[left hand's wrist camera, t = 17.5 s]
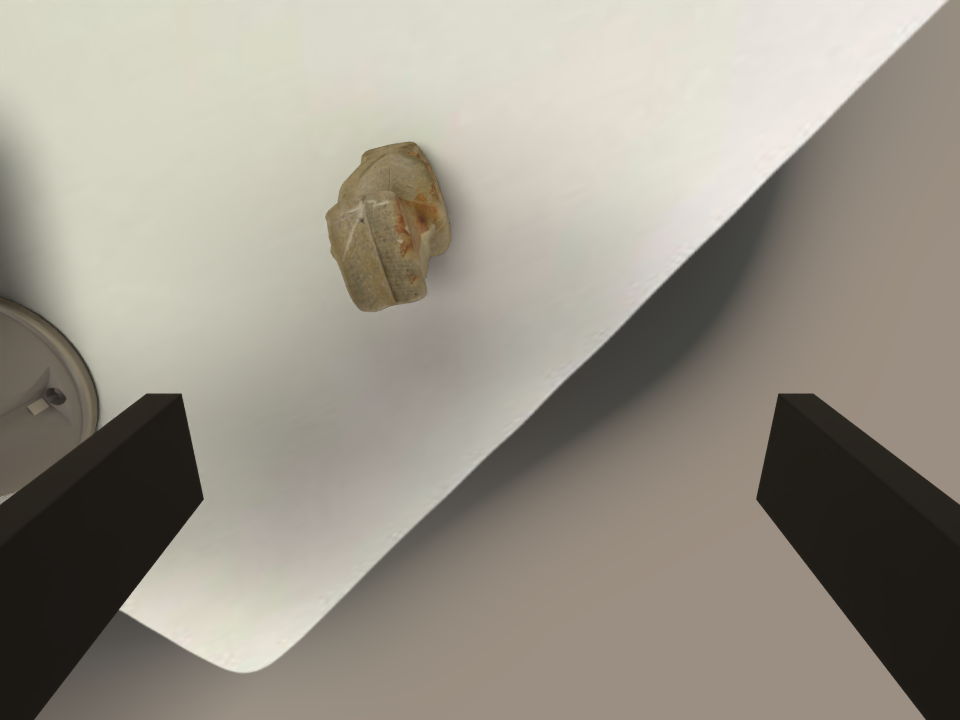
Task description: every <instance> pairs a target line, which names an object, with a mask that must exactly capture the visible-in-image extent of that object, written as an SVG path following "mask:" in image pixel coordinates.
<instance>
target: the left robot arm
mask: <svg viewBox="0 0 960 720" xmlns="http://www.w3.org/2000/svg"><path fill="white" fill-rule="evenodd" d="M97 412H98V408H97V398H96V393H95V389H94V386H93V383H92V380H91V378H90V375H89V373H88V371H87V369H86V367H85V365H84V363H83V362H82V360H81V359H80V357H79V356H78V354H77V353H76V351H75V350H74V349H73V347H72V346H71V345H70V344H69V343H68V342H67V340H66V339H65V338H64V337H63V336H62V335H61V334H60V333H59V332H58V331H57V330H56V329H54V328H53V327H52V326H51V325H50V324H48V323H47V322H46V321H45V320H43V319H42V318H40V317H39V316H37V315H36V314H34V313H33V312H31V311H29V310H28V309H26V308H24V307H22V306H20V305H18V304H16V303H14V302H12V301H9V300H7V299H4V298H1V297H0V497H1V496H4V495H7V494H10V493H13V492H16V491H18V492H17V493H15V494H14V495H13V496H11V497H10V498H9V499H7V500H6V501H5V502H3V503H2V504H1V505H0V720H34V719H35V718H36V717H37V715H38V714H39V713H40V711H41V710H42V709H43V707H44V706H45V705H46V704H47V702H48V701H49V700H50V698H51V697H52V696H53V694H54V693H55V692H56V691H57V689H58V688H59V687H60V685H61V684H62V683H63V681H64V680H65V679H66V678H67V676H68V675H69V674H70V672H71V671H72V670H73V668H74V667H75V666H76V665H77V663H78V662H79V661H80V659H81V658H82V657H83V655H84V654H85V653H86V652H87V650H88V649H89V648H90V646H91V645H92V644H93V643H94V641H95V640H96V639H97V637H98V636H99V635H100V633H101V632H102V631H103V629H104V628H105V627H106V626H107V624H108V623H109V622H110V620H111V619H112V618H113V617H114V615H115V614H116V613H117V611H118V610H119V609H120V607H121V606H122V605H123V604H124V602H125V601H126V600H127V598H128V597H129V596H130V594H131V593H132V592H133V591H134V589H135V588H136V587H137V585H138V584H139V583H140V581H141V580H142V579H143V578H144V576H145V575H146V574H147V572H148V571H149V570H150V568H151V567H152V566H153V565H154V563H155V562H156V561H157V559H158V558H159V557H160V555H161V554H162V553H163V552H164V550H165V549H166V548H167V546H168V545H169V544H170V542H171V541H172V540H173V539H174V537H175V536H176V535H177V533H178V532H179V531H180V529H181V528H182V527H183V526H184V524H185V523H186V522H187V520H188V519H189V518H190V517H191V515H192V514H193V513H194V511H195V510H196V509H197V507H198V506H199V505H200V504H201V502H202V501H203V500H204V498H203V493H202V488H201V484H200V479H199V474H198V469H197V465H196V460H195V455H194V450H193V446H192V441H191V436H190V431H189V427H188V422H187V417H186V412H185V408H184V403H183V398H182V394H146V395H144V396H143V397H142V398H140V399H139V400H138V401H136V402H135V403H134V404H132V405H131V406H130V407H128V408H127V409H126V410H124V411H123V412H122V413H121V414H119V415H118V416H117V417H115V418H114V419H113V420H111V421H110V422H109V423H107V424H106V425H105V426H103V427H102V428H101V429H99V430H98V431H97V432H95V428H96V423H97ZM94 432H95V433H94ZM756 499H757V501H758V502H759V504H760V505H761V506H762V507H763V509H764V510H765V511H766V513H767V514H768V515H769V516H770V518H771V519H772V520H773V522H774V523H775V524H776V526H777V527H778V528H779V529H780V531H781V532H782V533H783V535H784V536H785V537H786V539H787V540H788V541H789V542H790V544H791V545H792V546H793V548H794V549H795V550H796V552H797V553H798V554H799V555H800V557H801V558H802V559H803V561H804V562H805V563H806V564H807V566H808V567H809V568H810V570H811V571H812V572H813V574H814V575H815V576H816V578H817V579H818V580H819V581H820V583H821V584H822V585H823V587H824V588H825V589H826V591H827V592H828V593H829V594H830V596H831V597H832V598H833V600H834V601H835V602H836V604H837V605H838V606H839V607H840V609H841V610H842V611H843V612H844V614H845V615H846V617H847V618H848V619H849V620H850V622H851V623H852V624H853V626H854V627H855V628H856V630H857V631H858V632H859V633H860V635H861V636H862V637H863V639H864V640H865V641H866V642H867V644H868V645H869V646H870V648H871V649H872V650H873V652H874V653H875V654H876V656H877V657H878V658H879V659H880V661H881V662H882V663H883V665H884V666H885V667H886V668H887V670H888V671H889V672H890V674H891V675H892V676H893V677H894V679H895V680H896V681H897V683H898V684H899V685H900V687H901V688H902V689H903V691H904V692H905V693H906V694H907V696H908V697H909V698H910V700H911V701H912V702H913V704H914V705H915V706H916V707H917V709H918V710H919V711H920V713H921V714H922V715H923V717H924V718H925V719H926V720H960V505H959V504H958V503H957V502H955V501H954V500H953V499H951V498H950V497H949V496H947V495H946V494H945V493H943V492H942V491H941V490H940V489H938V488H937V487H936V486H934V485H933V484H932V483H930V482H929V481H928V480H926V479H925V478H924V477H922V476H921V475H920V474H918V473H917V472H916V471H914V470H913V469H912V468H911V467H909V466H908V465H907V464H905V463H904V462H903V461H901V460H900V459H899V458H897V457H896V456H895V455H893V454H892V453H891V452H890V451H888V450H887V449H886V448H884V447H883V446H882V445H880V444H879V443H878V442H876V441H875V440H874V439H872V438H871V437H870V436H868V435H867V434H866V433H865V432H863V431H862V430H861V429H859V428H858V427H857V426H855V425H854V424H853V423H851V422H850V421H849V420H847V419H846V418H845V417H843V416H842V415H841V414H839V413H838V412H837V411H836V410H834V409H833V408H832V407H830V406H829V405H828V404H826V403H825V402H824V401H822V400H821V399H820V398H818V397H817V396H816V395H814V394H778V398H777V403H776V408H775V412H774V417H773V422H772V427H771V431H770V436H769V441H768V446H767V451H766V455H765V460H764V465H763V469H762V474H761V479H760V484H759V488H758V493H757V498H756Z"/></svg>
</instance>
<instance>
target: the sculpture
mask: <svg viewBox="0 0 960 720" xmlns="http://www.w3.org/2000/svg"><path fill="white" fill-rule="evenodd" d="M325 218H326V220H327V225H328V233H329V239H330V242H331V254H332V256H333V257H334V259H335V260H336V261H337V263H338V265H339V268H340V270H341V273H342V276H343V278H344V281H345V284H346V287H347V290H348V292H349V294H350V297H351V299H352V300H353V302H354V303H355V305H356V306H357V307H358V308H359V309H360V310H361V311H365V312H377V311H381V310H383V309H385V308H387V307H389V306H393V305H398V304H405V303H411V302H415V301H418V300H421V299H422V298H424V297H425V296H426V293H427V290H426V284H425V278H426V276H427V273H428V267H429V259H430V257H433V256H437V255H441V254H443V253H444V252H445V251H446V250H447V248H448V247H449V245H450V240H451V232H450V224H449V219H448V214H447V210H446V206H445V203H444V200H443V197H442V194H441V191H440V188H439V185H438V182H437V180H436V177H435V174H434V172H433V169H432V167H431V165H430V163H429V161H428V160H427V158H426V156H425V155H424V153H423V152H422V150H421V149H420V147H419V146H418V145H417V144H416V143H414V142H404V143H397V144H391V145H387V146H383V147H379V148H375V149H371V150H368V151H366V152H365V153H364V154H363V155H362V158H361V165H360V166H359V167H358V168H357V169H356V170H355V171H354V172H353V173H352V174H351V175H350V176H349V177H348V179H347V180H346V181H345V182H344V183H343V184H342V186H341V189H340V192H339V198H338V203H337V204H336V205H334V206H333V207H332V208H331V209H330V210H329V211H328V212H327V214H326V217H325Z"/></svg>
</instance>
